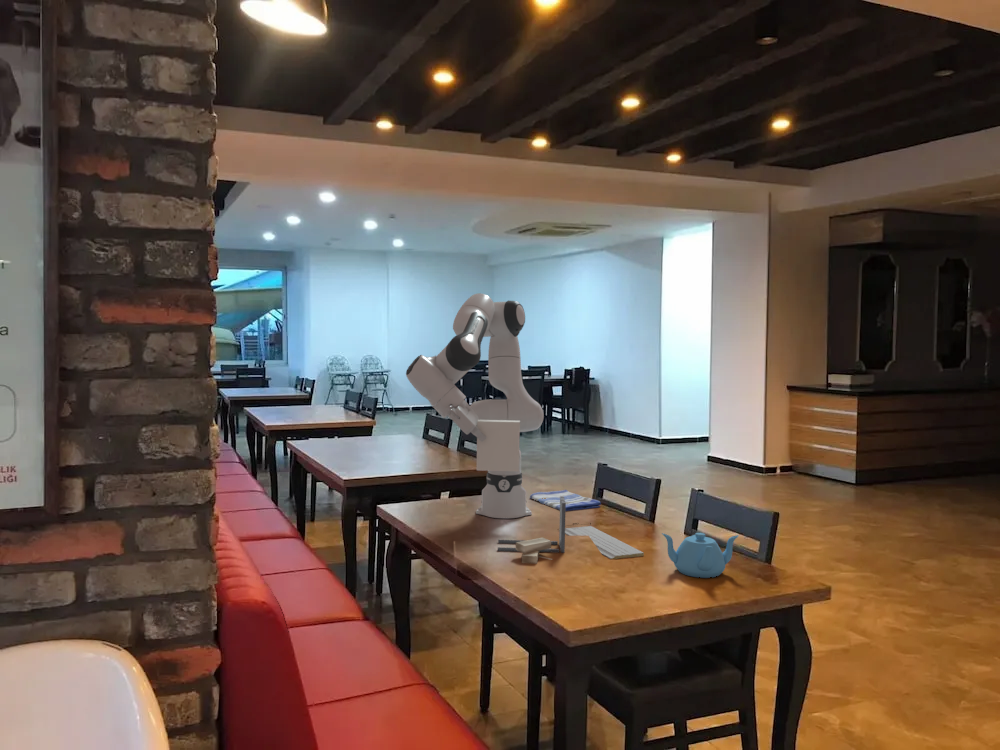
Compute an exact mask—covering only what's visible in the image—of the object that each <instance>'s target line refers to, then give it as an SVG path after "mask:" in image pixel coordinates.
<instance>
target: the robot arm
mask: <svg viewBox="0 0 1000 750" xmlns="http://www.w3.org/2000/svg"><path fill="white" fill-rule="evenodd" d="M525 312H526V311H525V310H524V306H523V305H522V304H521V303H520V302H519V301H517V300H507V301H495V302H494V301H493V299H492V298H491V297H490V296H489V295H487V294H485V293H481V292H480V293H474V294H472V295H471V296H470V297H468V298H467V299H466V300H465V302H464V303H463V304H462V305H461V307H460V308H459V310H458V312H457V313H456V315H455V317H454V320H453V324H452V330H453V332H454V334H455V336H453V337H452V338H451V340H449V342H448V343H447V345H446V346H444V348H443V349H441V351H440V352H439V353H438V354H437V355H434V356H425V355H423V354H420V355H418V356H417V357H416V358H414V360H412V362H411V363H410V365H409V366H407V369H406V372H405V376H406V378H407V380H408V381H409V383H410V384H411V386H412V387H413V388H414V389H415V390H416V391H417V392H418V394H420V395H421V396H422V397H423V398H425V399H426V400H428V402H429V403H430V405H431V407H432V408H433V409H434V410H435V411H436V412H437V413H438V414H439V415H440V416H441V417H442V418H443V419H445V418H447V417H448V418H449V419H450V420H452V421H453V422H454V424H455V425H456V426H457V427H458V428H459V429H460V430H461V431H462V432H463V433H464V434H465V435H469V434H470V433H471V434H472V435H473V436H475V437H476V439H477V438H478V439H479V440H480V441H484V440H485V439H486V436H485V435H484V434H483V433H482V432H481V431H480V430H479V429H478V428H477V421H478V420H516V421H520V433H527V432H533V431H536V430H538V429H539V428H540V427H541V426H542V425H543V424H542V423H543V421H544V417H545V416H544V409H543V408H542V405H541V404H540V403H539V402H538V401H536V399H534V398H533V397H532V396H531V395H530V394H529V393H528V391H527V389H526V388H525V386H524V383H523V382H524V381H523V377H522V368H521V367H522V366H521V365H522V364H521V350H520V342H519V337H518V336H519V335H520V332H521V331H522V330H523V328H524V326H525V323H526V314H525ZM486 337H488V338H489V337H490V338H489V343H488V357H487V358H488V360H487V362H488V382H489V383H490V385H491V386H492V387H493V388H495V389H497V390H499V391H500V392H503V394H504V395H505V396H506V399H482V400H478V401H477V400H476V401H473V402H472V403H471V404H469V403H468V402H467V401H466V400H465V399H466V398H467V396H466V395H465V394H464V393H463V392H462V391H461V390H460V389H459V388H458V387H457V386H456V384H457V383H458V381H460V380H461V379H462V378H463V377H464V376H465V375H466V374H467V373H468V372H469V371H470V370H471V369H473V368H474V367H475V366H476V365H478V364H479V363H480V361H481V357H482V356H481V355H482V352H481V351H482V350H481V346H482V345H481V344H482V341H483V339H484V338H486ZM521 471H522V451H521V449H520V448H519V471H486V472H487V473H486V485H485V487H484V488H483V489H482V490H481V506H479V507H478V508H477V509H476V511H475V514H476V515H482V516H484V517H489V518H493V519H494V518H495V519H515V518H516V519H518V518H521V517H524V516H525V517H526V516H531V515H532V510H530V508H529V507H528V506H527V490H526V489H525V487H523V485H522V483H523V473H522V472H521Z"/></svg>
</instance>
